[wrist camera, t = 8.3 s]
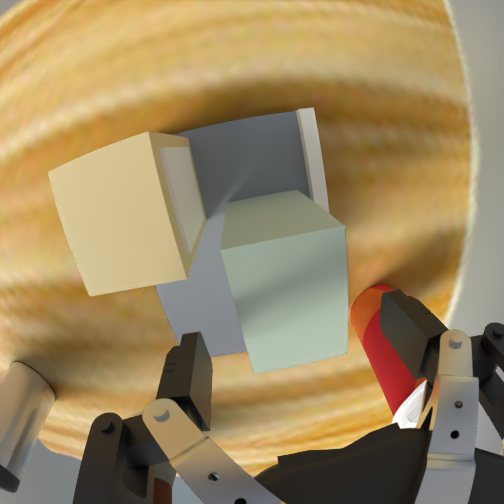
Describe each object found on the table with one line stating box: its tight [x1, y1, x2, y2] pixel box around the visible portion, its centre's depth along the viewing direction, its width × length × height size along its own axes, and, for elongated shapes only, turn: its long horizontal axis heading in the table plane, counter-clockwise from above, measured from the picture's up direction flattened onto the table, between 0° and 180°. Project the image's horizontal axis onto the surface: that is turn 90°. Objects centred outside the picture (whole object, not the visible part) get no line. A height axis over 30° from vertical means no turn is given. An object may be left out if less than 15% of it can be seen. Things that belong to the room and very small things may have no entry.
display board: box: [154, 108, 329, 357], centre depth 21 cm, size 14×19×3 cm
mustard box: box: [48, 131, 207, 296], centre depth 14 cm, size 5×6×9 cm
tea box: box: [221, 190, 348, 374], centre depth 16 cm, size 5×7×9 cm
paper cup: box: [351, 285, 427, 429], centre depth 19 cm, size 8×8×14 cm
